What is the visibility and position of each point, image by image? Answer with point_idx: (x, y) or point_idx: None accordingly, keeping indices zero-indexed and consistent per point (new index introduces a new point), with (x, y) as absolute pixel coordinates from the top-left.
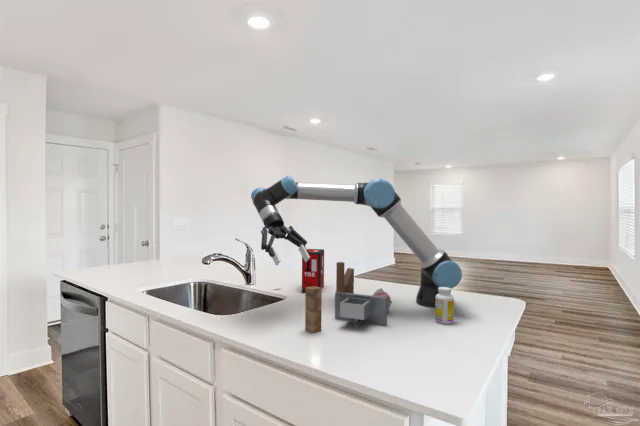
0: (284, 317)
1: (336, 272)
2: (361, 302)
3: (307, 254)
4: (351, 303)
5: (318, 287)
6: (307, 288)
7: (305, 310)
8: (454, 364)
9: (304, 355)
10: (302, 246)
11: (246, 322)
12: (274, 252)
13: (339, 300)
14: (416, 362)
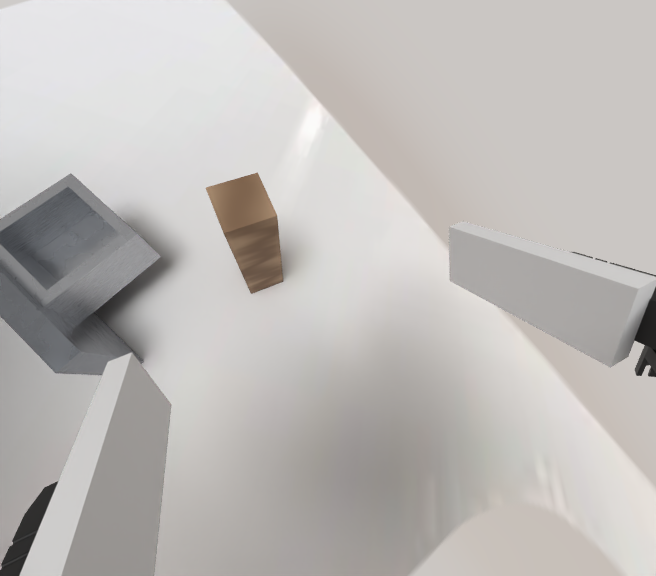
0: (318, 423)
1: None
2: (24, 260)
3: (110, 387)
4: (98, 213)
5: (215, 201)
6: (271, 203)
7: (280, 258)
8: (63, 32)
9: (326, 147)
10: (72, 537)
11: (447, 399)
12: (555, 253)
13: (88, 340)
14: (127, 59)
